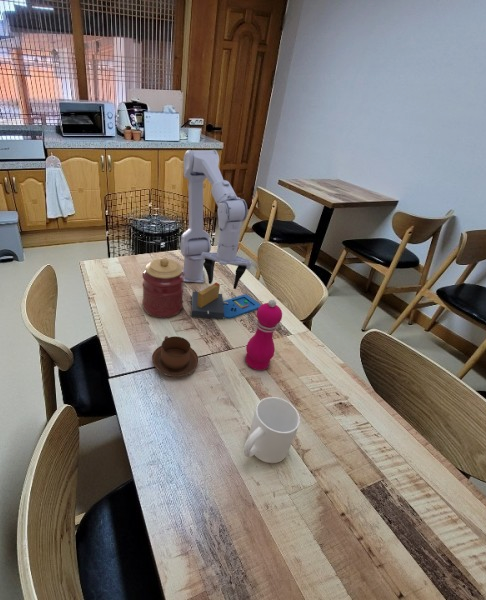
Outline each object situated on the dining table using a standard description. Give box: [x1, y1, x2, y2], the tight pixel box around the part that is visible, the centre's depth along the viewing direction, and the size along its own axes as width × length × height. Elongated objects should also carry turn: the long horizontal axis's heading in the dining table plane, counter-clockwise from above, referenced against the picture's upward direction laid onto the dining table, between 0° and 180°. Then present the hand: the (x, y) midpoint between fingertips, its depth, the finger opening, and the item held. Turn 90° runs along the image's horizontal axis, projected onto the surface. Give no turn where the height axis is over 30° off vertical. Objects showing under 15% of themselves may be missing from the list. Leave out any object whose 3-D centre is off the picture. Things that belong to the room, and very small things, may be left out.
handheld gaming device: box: [223, 293, 262, 320], centre depth 112 cm, size 8×1×15 cm
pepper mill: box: [245, 299, 283, 371], centre depth 85 cm, size 7×7×20 cm
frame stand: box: [187, 291, 228, 320], centre depth 110 cm, size 13×13×3 cm
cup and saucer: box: [151, 335, 199, 377], centre depth 87 cm, size 12×12×6 cm
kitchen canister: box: [142, 256, 185, 319], centre depth 105 cm, size 13×13×18 cm
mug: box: [242, 396, 301, 464], centre depth 67 cm, size 12×8×10 cm
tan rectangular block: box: [197, 282, 221, 308], centre depth 108 cm, size 9×2×5 cm, turn 137°
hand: (222, 284), depth 103 cm, fingers open, 7 cm apart
